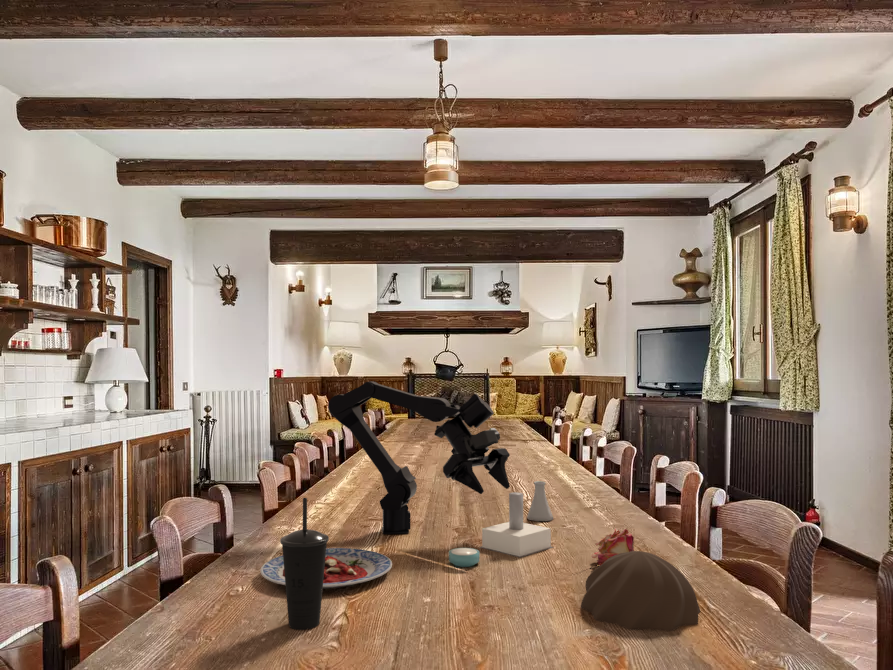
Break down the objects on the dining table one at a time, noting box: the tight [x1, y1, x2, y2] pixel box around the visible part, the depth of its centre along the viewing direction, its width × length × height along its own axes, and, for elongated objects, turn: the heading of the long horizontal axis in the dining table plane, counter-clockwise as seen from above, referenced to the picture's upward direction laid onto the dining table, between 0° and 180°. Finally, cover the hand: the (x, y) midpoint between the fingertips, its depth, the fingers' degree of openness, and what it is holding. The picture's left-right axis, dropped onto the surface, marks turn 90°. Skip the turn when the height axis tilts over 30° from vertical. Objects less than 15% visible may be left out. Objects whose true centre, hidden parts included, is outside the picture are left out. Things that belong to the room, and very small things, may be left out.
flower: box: [591, 527, 635, 566], centre depth 139 cm, size 10×9×8 cm
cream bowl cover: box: [481, 491, 552, 556], centre depth 154 cm, size 11×11×12 cm
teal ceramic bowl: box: [448, 547, 481, 569], centre depth 141 cm, size 6×6×3 cm
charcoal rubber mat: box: [479, 545, 554, 558], centre depth 154 cm, size 12×12×1 cm
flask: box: [526, 481, 554, 522], centre depth 185 cm, size 7×7×10 cm
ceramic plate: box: [259, 547, 393, 590], centre depth 135 cm, size 26×26×3 cm
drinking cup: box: [279, 497, 330, 631], centre depth 109 cm, size 8×8×20 cm
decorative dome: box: [580, 550, 701, 632], centre depth 115 cm, size 19×20×10 cm
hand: (495, 490), depth 159 cm, fingers open, 9 cm apart
